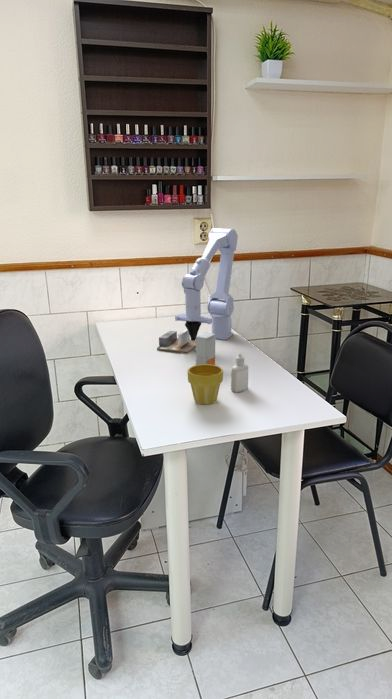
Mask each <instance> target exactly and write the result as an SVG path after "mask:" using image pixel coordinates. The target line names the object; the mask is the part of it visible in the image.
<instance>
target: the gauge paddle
mask: <svg viewBox="0 0 392 699" xmlns="http://www.w3.org/2000/svg"><path fill="white" fill-rule="evenodd" d="M177 338H178V346H177V347H175V349H177V348H179V347H180V346H183V345H184V344H186V343H187V342H188V341H190V340H191V337H190V334H189V332H188V329H187V328H186V329H184V330H183V331H181V332H179V333H177Z"/></svg>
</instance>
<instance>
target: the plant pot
mask: <svg viewBox="0 0 392 699" xmlns="http://www.w3.org/2000/svg"><path fill="white" fill-rule="evenodd" d="M223 380H224V369H223V368H222V367H221V366H220V365H216V364H215V365H211V364H200V365H196V364H195V365H192V366H190V367H189V368H188V369H187V381H188V383H189V384H190V388H191V391H192V396H193V400H194V402H195V403H196V404H199V405H202V406H203V405H204V406H205V405H206V406H207V405H213V404H215V403H216V402H217V400H218V397H219V396H218V395H219V392H220V387H221V383H222V382H223Z"/></svg>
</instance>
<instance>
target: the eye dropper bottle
mask: <svg viewBox="0 0 392 699" xmlns="http://www.w3.org/2000/svg"><path fill="white" fill-rule="evenodd" d="M230 372H231V374H230V383H231V384H230V390H231V392H233V393H242V392H245V391H246V390H248V388H249V366H248V365H247V364H246V363H245V357H244V356H242V353H241V352H239V353H238V356H236V357H235V364H234V365H233V366H232V367H231V371H230Z"/></svg>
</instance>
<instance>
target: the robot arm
mask: <svg viewBox="0 0 392 699" xmlns="http://www.w3.org/2000/svg"><path fill="white" fill-rule="evenodd" d="M238 236H239V235H238V233H237V231H236V230H235V228H219V227H213V228H211V230H210V231H209V233H208V243H207V245H206V247H205V248H204V251H203V253H202V255H201V257H198V258H197V259H196V260H195V262H194V264H193V266H192V267H191V269H190V270H189V271H188V272H189V273H186V274H185V275H183V277H182V281H181V286H182V288H183V293H184V294H185V296H184V297H185V301H184V302H185V314H176V315H175V316H174V318H175V320H174V321H175V322H178V321H180V322H185V323H184V326H185V328H186V329H188V332H189V334H190V340H192V341H195V340H196V336H198V334H199V333H198V332H199V330H200V327H201V326H202V324H207V325H211V334H215V340H216V339H217V340H218V339H219V340H228V339H229V338H230V337H231V336H232V335H233V334H234V332H233V331H232V317H231V316H232V315H233V313H234V310H235V307H234V300H235V299H234V298H233V296H231V294H230V293H229V292H230V285H231V277H232V272H233V271H232V270H233V263H234V257H235V251H236V250H237V247H238V246H237V245H238V240H239V239H238V238H239V237H238ZM218 250H219V252H220V258H219V265H218V274H217V280H216V288H215V292H213V293H211V295H210V296H209V300H208V302H207V305H206V306H207V311H208V313H209V316H211V317H208V316H203V315H202V314H201V312H202V311H201V310H202V308H201V307H202V306H201V290H202V289H203V288H204V285H205V276H206V275H207V274H208V271H209V269H210V267H211V262H210V261H211V260H212V259H213V257H214V256H215V254H216V252H217V251H218Z"/></svg>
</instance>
